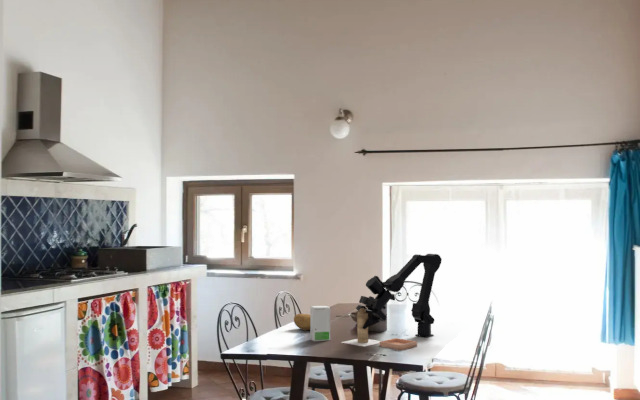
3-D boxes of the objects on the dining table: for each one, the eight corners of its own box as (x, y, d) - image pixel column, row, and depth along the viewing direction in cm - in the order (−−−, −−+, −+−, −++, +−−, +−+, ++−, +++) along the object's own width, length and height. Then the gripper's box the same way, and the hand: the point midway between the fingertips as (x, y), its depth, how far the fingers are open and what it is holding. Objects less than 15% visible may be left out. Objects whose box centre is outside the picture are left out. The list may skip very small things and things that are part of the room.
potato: (315, 332, 320) (315, 316, 320) (290, 330, 326) (290, 314, 326) (323, 329, 329) (323, 313, 329) (299, 327, 335) (299, 311, 335)
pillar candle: (364, 330, 323) (364, 300, 323) (372, 327, 331) (372, 298, 332) (382, 332, 318) (382, 302, 318) (390, 329, 327) (390, 299, 327)
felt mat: (361, 338, 302) (361, 337, 302) (384, 342, 292) (384, 341, 292) (340, 343, 292) (340, 342, 292) (364, 347, 282) (364, 346, 282)
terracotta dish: (395, 342, 291) (395, 338, 291) (417, 346, 283) (416, 341, 283) (379, 346, 283) (379, 341, 283) (400, 350, 275) (400, 345, 275)
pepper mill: (362, 340, 296) (361, 306, 296) (370, 341, 292) (369, 307, 293) (355, 342, 292) (354, 307, 293) (363, 343, 289) (362, 308, 289)
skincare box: (313, 342, 295) (313, 307, 296) (309, 339, 302) (309, 305, 302) (331, 340, 298) (330, 306, 298) (326, 338, 304) (326, 305, 304)
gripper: (359, 287, 303) (338, 313, 298) (380, 291, 286) (359, 318, 281) (374, 303, 306) (354, 328, 301) (395, 308, 289) (374, 335, 284)
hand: (359, 327), depth 292 cm, fingers open, 6 cm apart
